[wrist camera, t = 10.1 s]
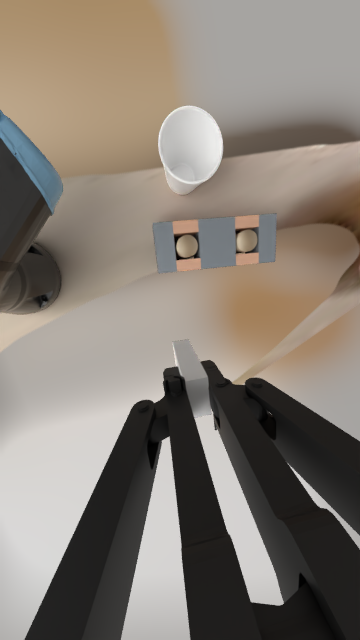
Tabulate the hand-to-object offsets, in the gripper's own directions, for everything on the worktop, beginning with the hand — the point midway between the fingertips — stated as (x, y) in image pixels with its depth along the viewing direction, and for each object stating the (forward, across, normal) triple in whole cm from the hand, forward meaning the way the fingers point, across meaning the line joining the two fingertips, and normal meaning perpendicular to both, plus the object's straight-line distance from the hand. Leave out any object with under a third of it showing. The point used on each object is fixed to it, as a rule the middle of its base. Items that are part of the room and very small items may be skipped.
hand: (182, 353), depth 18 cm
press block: (+29, +12, +11) cm, 33 cm away
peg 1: (+29, +6, +11) cm, 31 cm away
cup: (+29, +7, +24) cm, 39 cm away
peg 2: (+29, +18, +11) cm, 35 cm away
